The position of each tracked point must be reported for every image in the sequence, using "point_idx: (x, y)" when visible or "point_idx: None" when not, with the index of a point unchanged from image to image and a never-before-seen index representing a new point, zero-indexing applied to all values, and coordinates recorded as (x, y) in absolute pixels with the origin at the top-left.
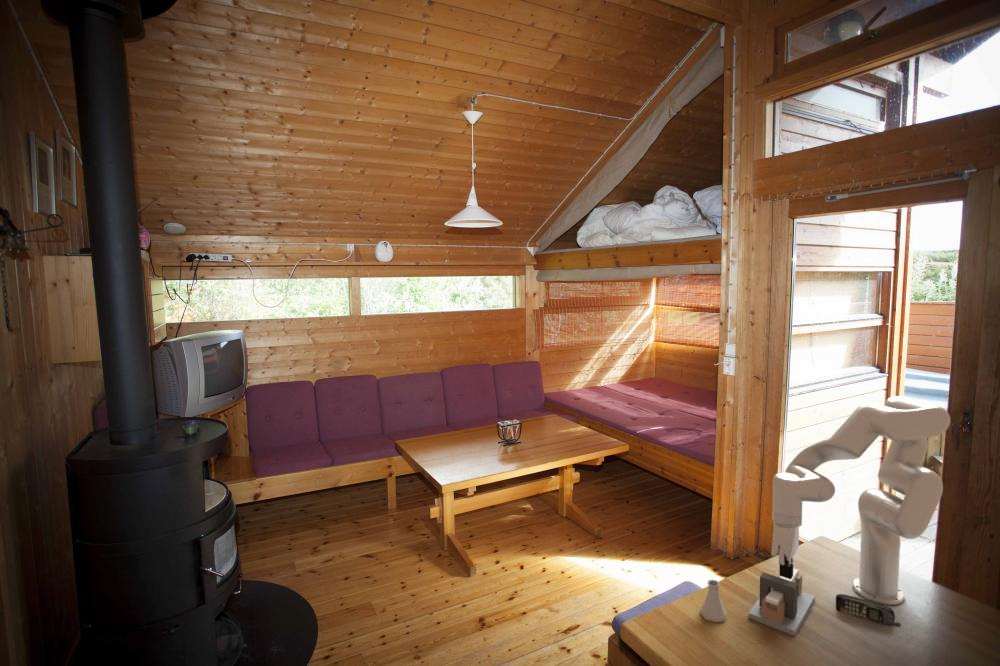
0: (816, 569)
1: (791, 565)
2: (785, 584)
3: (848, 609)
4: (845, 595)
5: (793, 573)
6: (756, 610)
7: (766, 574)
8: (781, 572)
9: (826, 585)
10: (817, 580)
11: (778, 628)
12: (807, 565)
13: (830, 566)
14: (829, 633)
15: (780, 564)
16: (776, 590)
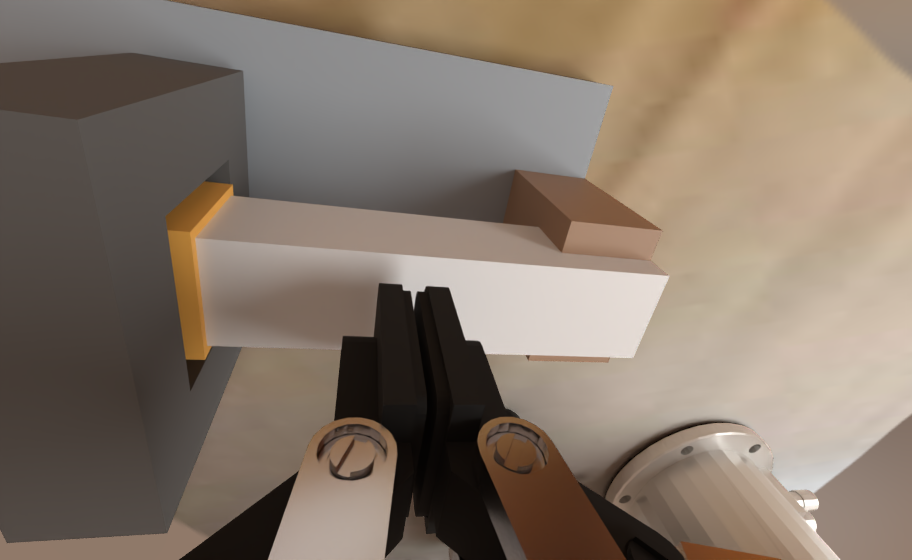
0: (827, 287)
1: (418, 514)
2: (4, 462)
3: None
4: None
5: (556, 338)
6: (65, 33)
7: (33, 191)
8: (377, 326)
9: (685, 345)
10: (722, 307)
11: None
12: (865, 244)
13: (857, 332)
14: (263, 421)
15: (381, 396)
16: None
